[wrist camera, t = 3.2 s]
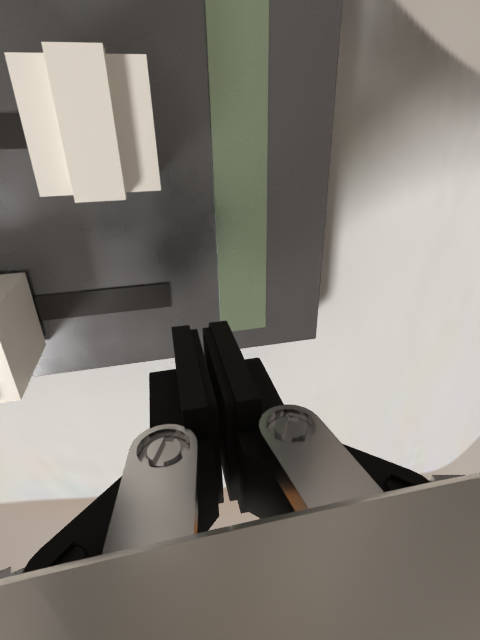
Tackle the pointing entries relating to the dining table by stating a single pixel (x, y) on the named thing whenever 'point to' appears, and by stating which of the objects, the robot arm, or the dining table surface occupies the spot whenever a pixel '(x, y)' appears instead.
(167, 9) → the breaker board
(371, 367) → the dining table surface
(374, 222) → the dining table surface
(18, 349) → the block
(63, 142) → the block
